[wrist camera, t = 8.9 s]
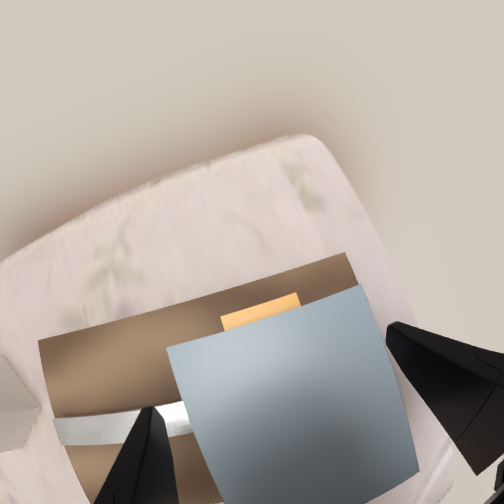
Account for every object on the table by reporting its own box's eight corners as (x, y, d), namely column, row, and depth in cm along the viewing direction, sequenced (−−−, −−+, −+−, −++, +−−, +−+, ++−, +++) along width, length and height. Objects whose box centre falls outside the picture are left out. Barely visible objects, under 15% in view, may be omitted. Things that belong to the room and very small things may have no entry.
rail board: (400, 426, 15) (418, 432, 13) (98, 503, 12) (84, 514, 10) (340, 257, 20) (351, 243, 18) (45, 341, 17) (26, 337, 14)
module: (327, 419, 15) (419, 471, 5) (244, 448, 14) (246, 543, 4) (292, 319, 17) (352, 264, 8) (208, 346, 17) (160, 325, 7)
